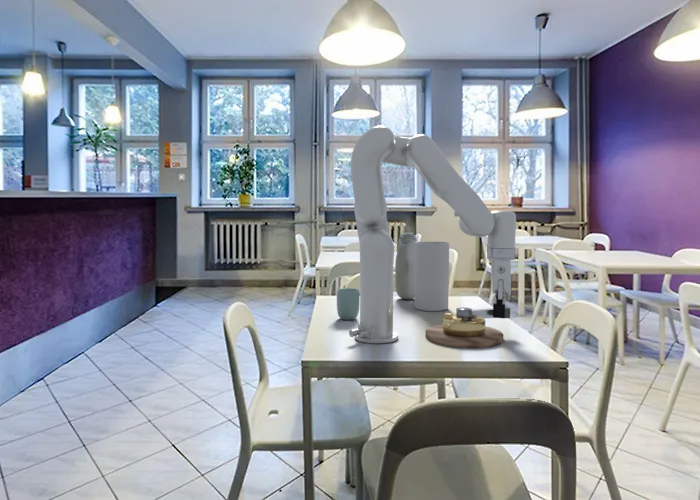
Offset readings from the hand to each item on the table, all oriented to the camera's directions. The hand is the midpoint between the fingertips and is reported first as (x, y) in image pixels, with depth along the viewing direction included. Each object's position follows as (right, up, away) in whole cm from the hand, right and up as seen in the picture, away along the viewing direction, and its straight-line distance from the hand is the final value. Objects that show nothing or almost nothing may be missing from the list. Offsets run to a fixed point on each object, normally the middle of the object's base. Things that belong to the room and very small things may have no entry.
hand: (498, 317), depth 136 cm
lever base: (-10, -6, +1) cm, 12 cm away
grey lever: (-6, -4, +2) cm, 7 cm away
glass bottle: (-19, -1, +61) cm, 64 cm away
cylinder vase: (-12, -3, +42) cm, 44 cm away
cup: (-44, -4, +25) cm, 51 cm away
